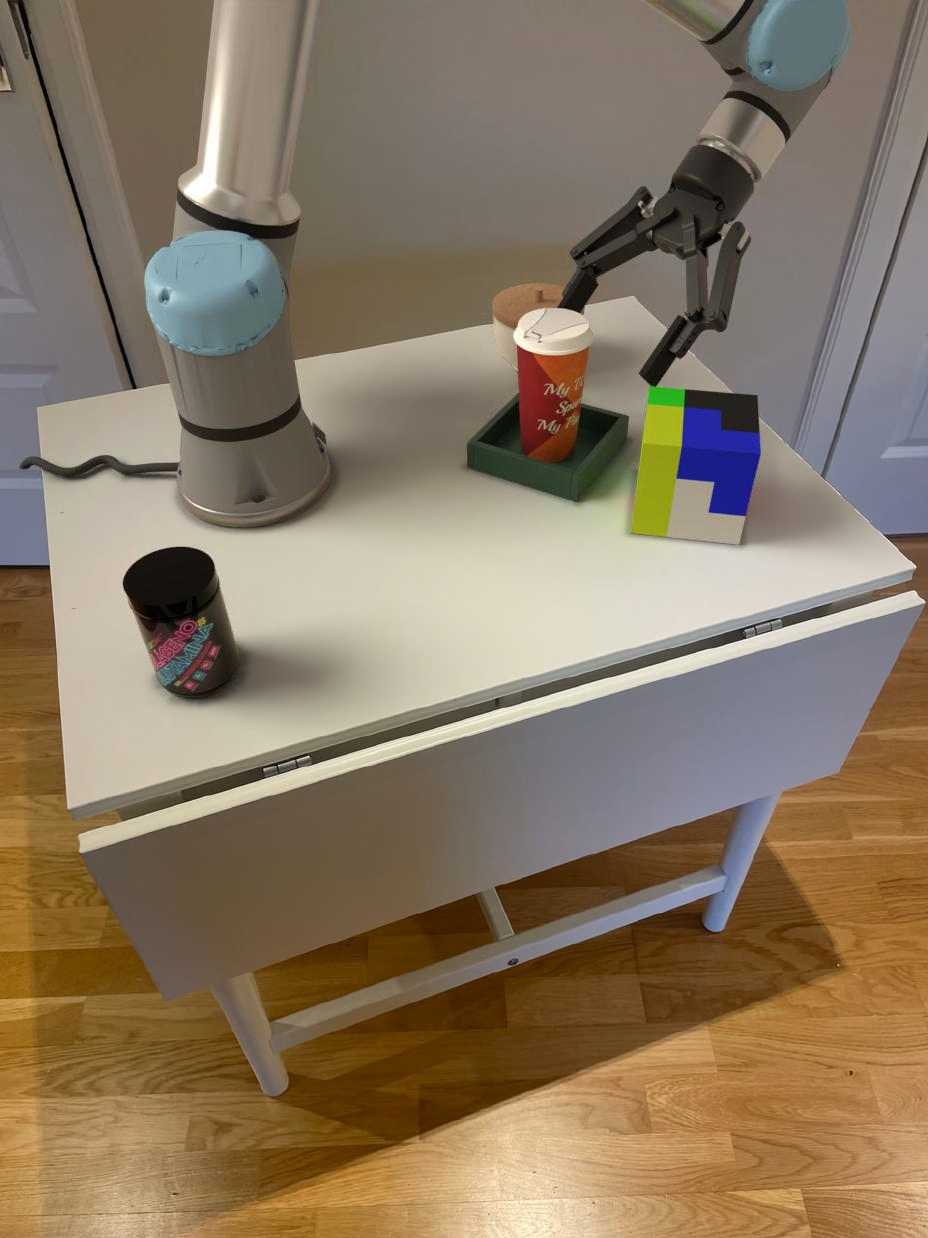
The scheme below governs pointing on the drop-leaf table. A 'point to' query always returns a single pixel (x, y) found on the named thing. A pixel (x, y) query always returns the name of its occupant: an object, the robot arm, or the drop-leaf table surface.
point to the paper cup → (551, 380)
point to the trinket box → (520, 312)
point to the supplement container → (183, 620)
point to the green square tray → (568, 479)
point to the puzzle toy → (696, 464)
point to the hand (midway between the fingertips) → (598, 355)
